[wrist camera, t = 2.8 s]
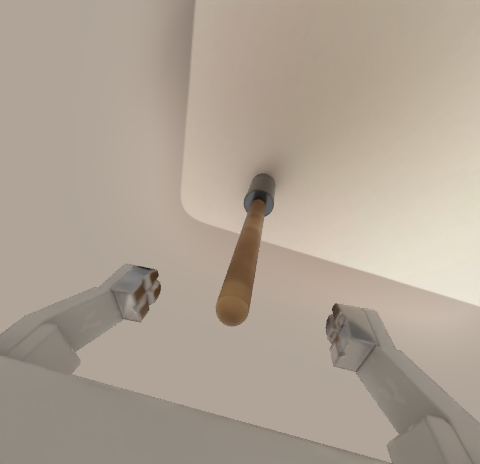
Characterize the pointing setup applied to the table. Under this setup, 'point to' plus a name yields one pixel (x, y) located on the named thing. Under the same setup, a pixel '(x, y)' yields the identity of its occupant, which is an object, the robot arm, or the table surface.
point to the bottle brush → (246, 254)
